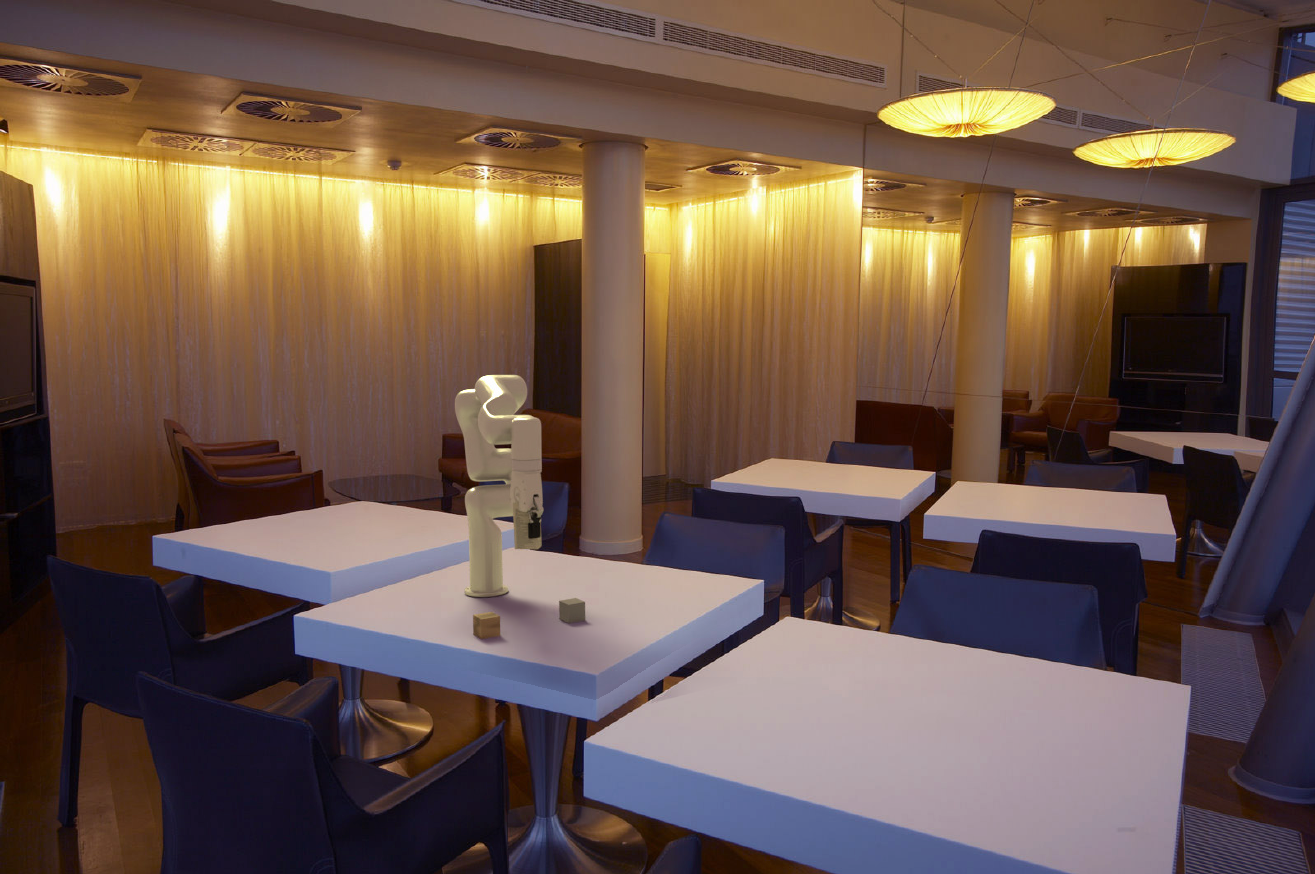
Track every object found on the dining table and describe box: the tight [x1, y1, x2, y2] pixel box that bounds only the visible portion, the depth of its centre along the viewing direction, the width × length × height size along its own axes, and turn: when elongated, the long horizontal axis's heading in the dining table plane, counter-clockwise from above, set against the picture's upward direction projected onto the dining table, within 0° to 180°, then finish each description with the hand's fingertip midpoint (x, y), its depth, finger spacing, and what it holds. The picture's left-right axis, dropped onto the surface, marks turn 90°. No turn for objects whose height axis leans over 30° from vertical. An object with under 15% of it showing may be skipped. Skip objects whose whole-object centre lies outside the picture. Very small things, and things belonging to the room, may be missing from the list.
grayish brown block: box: [558, 597, 586, 624], centre depth 236 cm, size 5×5×5 cm
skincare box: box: [512, 502, 543, 550], centre depth 228 cm, size 6×4×12 cm
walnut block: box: [472, 611, 501, 640], centre depth 223 cm, size 5×5×5 cm
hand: (527, 535), depth 229 cm, fingers closed on skincare box, 7 cm apart
